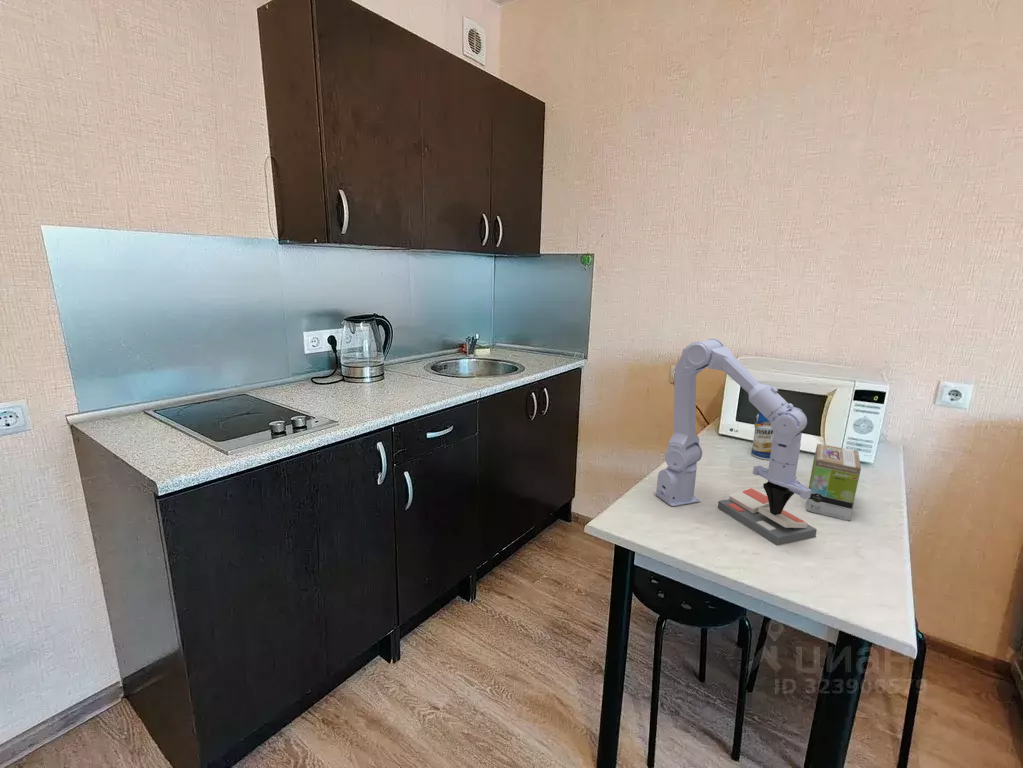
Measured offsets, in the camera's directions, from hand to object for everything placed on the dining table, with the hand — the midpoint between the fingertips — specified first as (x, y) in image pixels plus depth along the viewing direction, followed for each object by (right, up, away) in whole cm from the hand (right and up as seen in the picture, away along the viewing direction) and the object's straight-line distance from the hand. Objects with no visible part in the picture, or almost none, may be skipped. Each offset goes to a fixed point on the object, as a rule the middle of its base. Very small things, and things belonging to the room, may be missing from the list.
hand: (775, 513), depth 119 cm
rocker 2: (+2, -1, +1) cm, 3 cm away
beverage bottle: (+22, +6, +50) cm, 55 cm away
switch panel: (0, -4, +6) cm, 7 cm away
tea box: (+22, -2, +15) cm, 27 cm away
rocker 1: (-1, +1, +10) cm, 10 cm away
